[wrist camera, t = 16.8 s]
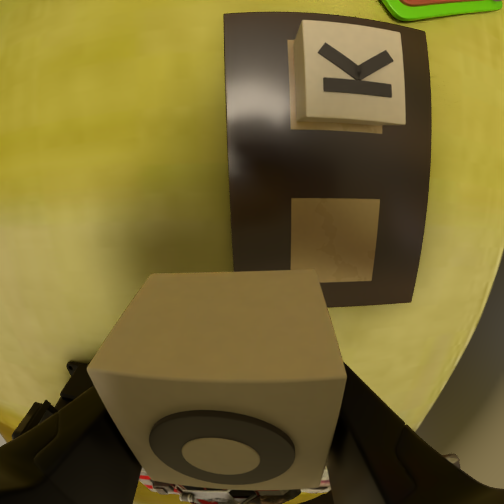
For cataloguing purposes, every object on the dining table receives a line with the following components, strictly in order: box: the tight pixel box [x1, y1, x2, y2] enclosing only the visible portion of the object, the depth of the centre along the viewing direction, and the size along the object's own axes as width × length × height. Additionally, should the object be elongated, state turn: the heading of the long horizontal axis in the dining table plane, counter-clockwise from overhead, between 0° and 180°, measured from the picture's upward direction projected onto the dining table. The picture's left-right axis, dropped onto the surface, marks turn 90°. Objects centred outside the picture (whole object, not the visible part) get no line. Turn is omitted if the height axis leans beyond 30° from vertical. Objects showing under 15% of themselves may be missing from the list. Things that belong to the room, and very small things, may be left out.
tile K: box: [293, 20, 406, 125], centre depth 12 cm, size 4×4×4 cm
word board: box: [224, 12, 431, 307], centre depth 16 cm, size 18×12×1 cm, turn 2°
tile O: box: [87, 269, 347, 490], centre depth 7 cm, size 4×4×4 cm
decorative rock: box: [235, 489, 301, 504], centre depth 29 cm, size 16×2×5 cm
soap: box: [301, 486, 331, 493], centre depth 30 cm, size 10×4×1 cm, turn 77°
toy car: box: [139, 467, 289, 504], centre depth 25 cm, size 8×18×8 cm, turn 105°
